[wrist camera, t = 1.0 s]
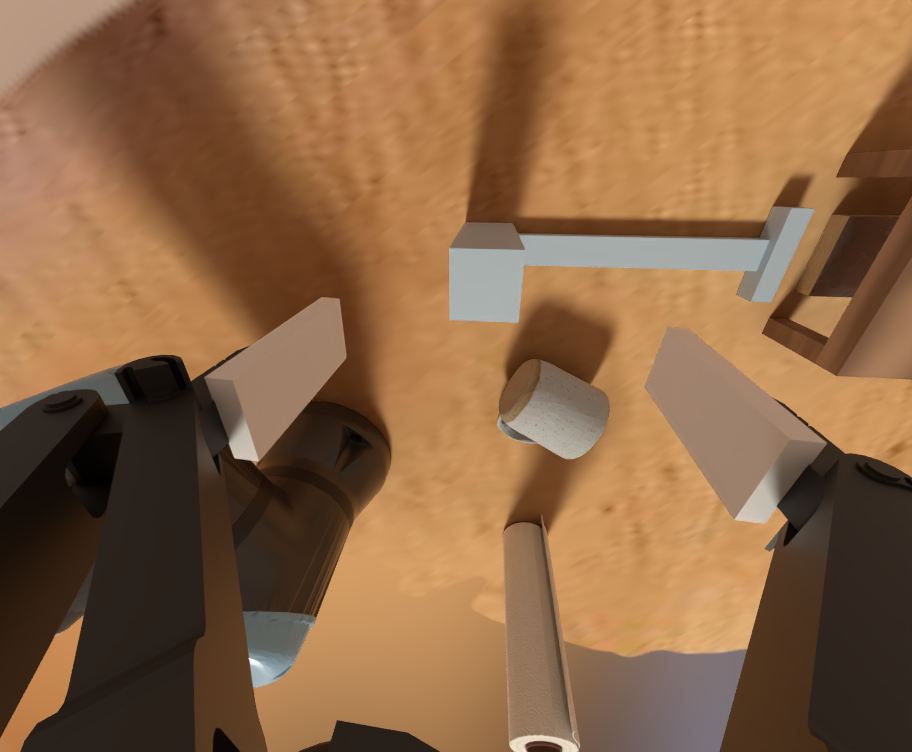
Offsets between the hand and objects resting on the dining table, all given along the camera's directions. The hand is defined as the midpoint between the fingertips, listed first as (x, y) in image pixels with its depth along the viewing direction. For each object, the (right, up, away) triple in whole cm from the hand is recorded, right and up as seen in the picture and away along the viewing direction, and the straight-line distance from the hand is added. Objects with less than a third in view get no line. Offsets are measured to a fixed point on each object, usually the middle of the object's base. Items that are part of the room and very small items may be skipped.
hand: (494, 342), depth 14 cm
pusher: (+12, +9, +15) cm, 22 cm away
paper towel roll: (+9, -23, +34) cm, 43 cm away
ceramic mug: (+8, -4, +23) cm, 25 cm away
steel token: (+31, +9, +14) cm, 35 cm away
